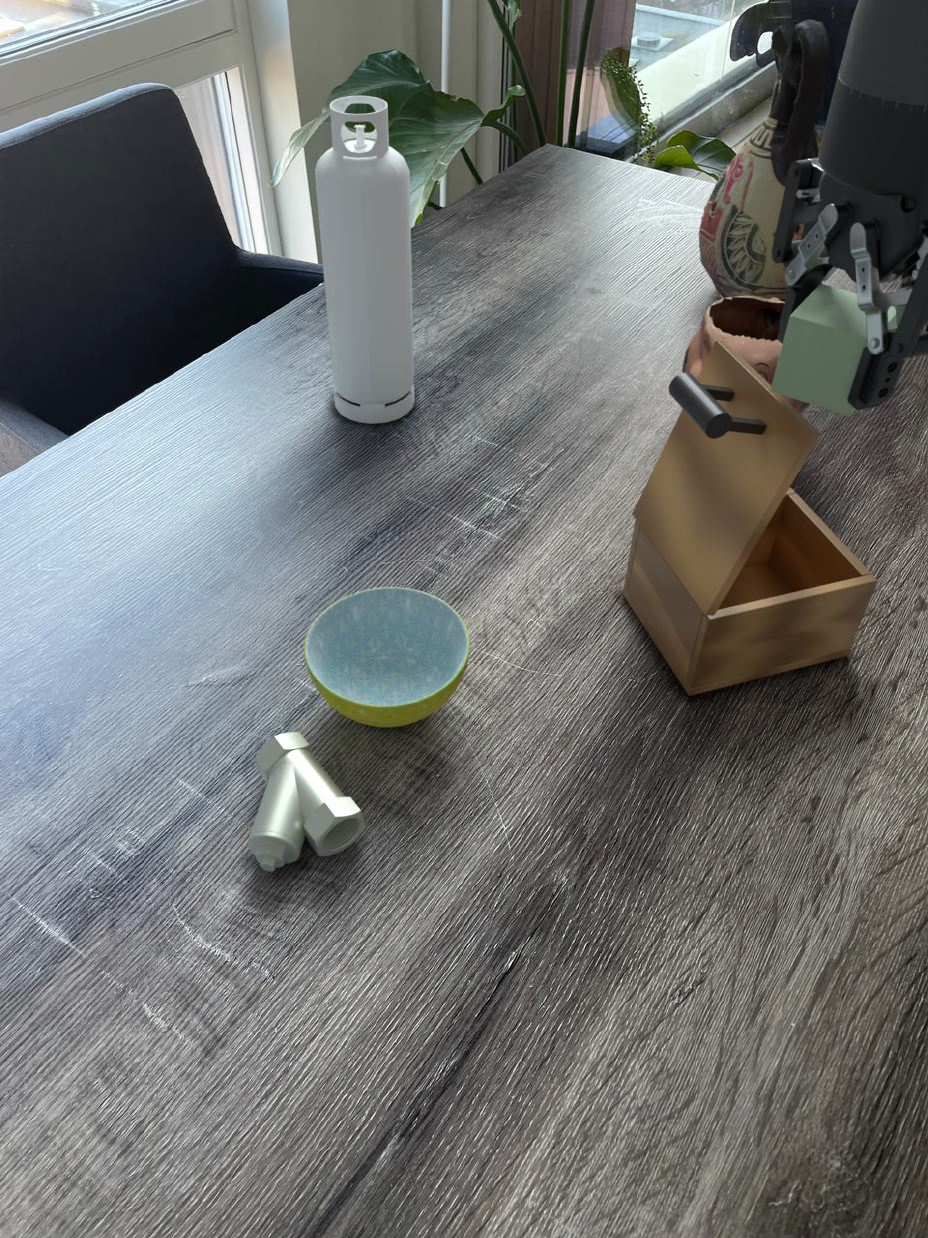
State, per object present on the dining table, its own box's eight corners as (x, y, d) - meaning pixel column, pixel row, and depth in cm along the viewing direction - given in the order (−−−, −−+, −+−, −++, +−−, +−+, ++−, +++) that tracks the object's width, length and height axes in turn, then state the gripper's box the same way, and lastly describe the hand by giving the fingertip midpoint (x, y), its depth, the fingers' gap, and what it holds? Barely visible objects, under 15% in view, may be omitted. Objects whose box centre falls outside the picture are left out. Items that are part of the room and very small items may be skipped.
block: (876, 381, 62) (902, 305, 58) (850, 417, 59) (875, 340, 55) (799, 357, 64) (820, 282, 60) (769, 391, 61) (789, 315, 57)
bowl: (294, 754, 69) (284, 695, 65) (332, 637, 77) (325, 578, 73) (456, 774, 68) (457, 715, 64) (478, 653, 76) (479, 594, 72)
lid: (725, 340, 67) (659, 330, 65) (821, 433, 59) (750, 425, 57) (640, 514, 76) (579, 510, 73) (714, 615, 68) (648, 615, 65)
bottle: (332, 423, 98) (305, 121, 79) (336, 380, 104) (312, 88, 85) (414, 423, 99) (407, 121, 79) (414, 380, 104) (408, 89, 85)
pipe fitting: (275, 896, 62) (367, 836, 64) (263, 864, 59) (360, 803, 61) (217, 808, 66) (305, 756, 69) (203, 775, 63) (295, 722, 66)
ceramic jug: (680, 269, 124) (728, -9, 103) (805, 273, 124) (878, -5, 103) (697, 337, 112) (756, 36, 91) (836, 341, 112) (926, 41, 91)
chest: (768, 561, 84) (791, 486, 79) (847, 656, 77) (878, 580, 71) (622, 594, 81) (635, 518, 76) (688, 696, 73) (708, 620, 68)
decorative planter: (685, 384, 105) (710, 255, 95) (804, 404, 102) (842, 274, 92) (652, 493, 91) (677, 355, 81) (788, 520, 88) (831, 381, 79)
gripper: (1087, 115, 45) (955, 425, 57) (893, 30, 55) (815, 310, 66) (949, 131, 43) (842, 448, 55) (775, 40, 53) (715, 326, 65)
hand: (827, 372), depth 61 cm, fingers closed on block, 7 cm apart
